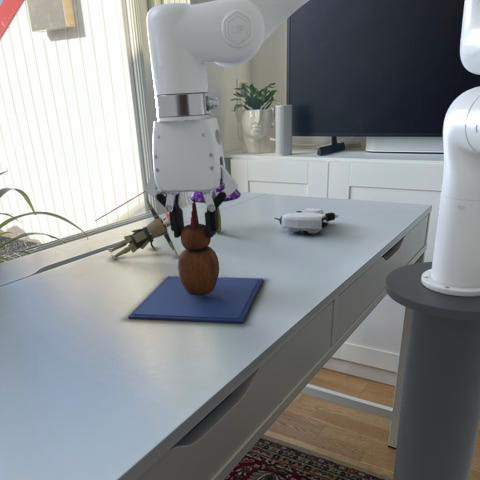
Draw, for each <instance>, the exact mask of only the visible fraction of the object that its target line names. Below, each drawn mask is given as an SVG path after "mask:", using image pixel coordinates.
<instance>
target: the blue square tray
mask: <svg viewBox="0 0 480 480" xmlns="http://www.w3.org/2000/svg"><path fill="white" fill-rule="evenodd" d="M263 282H264V278H260V277H259V278H257V277H256V278H255V277H253V278H251V277H218V280H217V283H216V286H215V288H214V289H213V290H212V291H211V292H210V293H208V294H205V295H201V296H195V295H191V294H189V293H188V292H187V291H186V290H185V288H184V287H183V285H182V283H181V280H180V277H179V276H175V275H174V276H171V275H170V276H169V275H168V276H167V277H166V278H165V279H164V280H163V281H162V282H160V284H159V285H158V286H157V287H156V288H155V289H154V290H153V291H152V292H151V293H150V294H149V295H148V296H147V297H146V298H145V299H143V301H142V302H141V303H140V304H139V305H138V306H137V307H136V308H135V309H134V310H133V311H132V312H131V313H130V314H129V315H128V319H130V320H152V321H153V320H154V321H176V322H198V323H200V322H201V323H220V324H244V322H245V319H246V317H247V315H248V313H249V311H250V309H251V307H252V305H253V303H254V300H255V299H256V296H257V294H258V292H259V291H260V288H261V286H262V284H263Z"/></svg>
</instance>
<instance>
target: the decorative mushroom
mask: <svg viewBox="0 0 480 480" xmlns="http://www.w3.org/2000/svg"><path fill="white" fill-rule="evenodd" d="M224 189H225V184H223V185H221V186H219V187H218V188H217V189H216V193H217V195H218V194H219V193H220V192H221V191H222V190H224ZM241 195H242V193H241V192H240V190H239V189H238V188H237V189H236V190H235V191H234V192H233V193H232V194H231V195H229V196H228V197H227V198H226V199H225V200H224V201H223V202H222V203H225V202H226V203H227V202H231V201H235V200H238V199H239V198H240V197H241ZM194 198H195V202H196V203H199V204H206V202H205V199H204V196H203V193H202V192H192V193H190V196H189V198H188V199H189V200H190V201H191V202H193V199H194ZM217 211H218V224H219V228H218V231H216V233H220V232H222V217H221V216H222V215H221V211H220V206H219V207H218V208H217Z"/></svg>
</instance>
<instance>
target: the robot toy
mask: <svg viewBox="0 0 480 480" xmlns="http://www.w3.org/2000/svg"><path fill="white" fill-rule="evenodd" d="M338 218H339V214H337V213H335V212H331V211H330V212H326V213H325V212H324V209H322V208H305V209H304V210H303V211H301V210H296V211H295V212H287V213H284V214H282V215H281V216H280V217H279V218H278V217H277V216H275V217H274V220H277V221H279V224H280V226H281V227H282V228H283V229H286V230H287V231H289V232H290V233H293V234H294V233H298V232H299V231H306V233H308V234H312V235H313V234H314V235H315V234H318V233H319V232H320V231H321V230H322V229H324V228H326V227H328V225H330V223H331V222H332V221H335V219H338Z"/></svg>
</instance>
